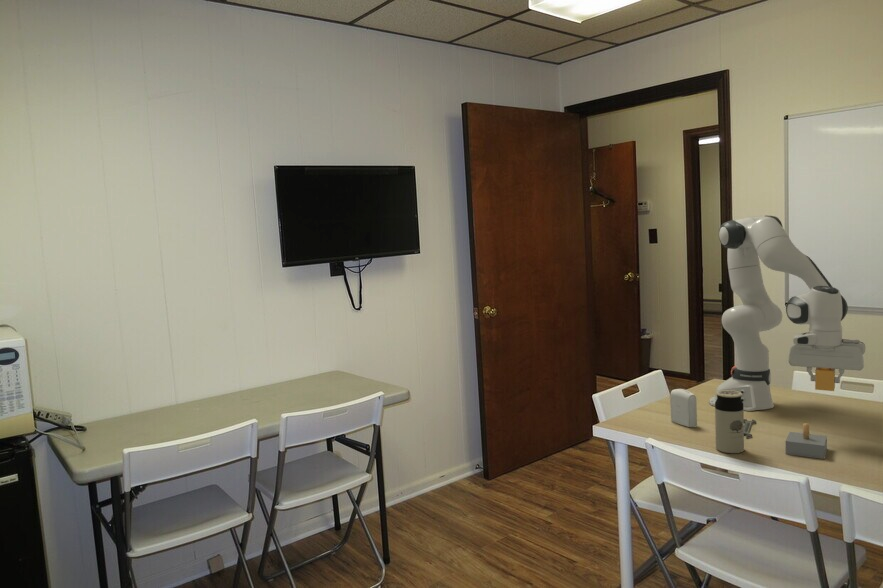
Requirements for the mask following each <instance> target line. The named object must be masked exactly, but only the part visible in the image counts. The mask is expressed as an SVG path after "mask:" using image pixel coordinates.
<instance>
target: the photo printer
mask: <svg viewBox="0 0 883 588" xmlns="http://www.w3.org/2000/svg"><path fill="white" fill-rule="evenodd" d="M669 398H670V400H669V401H670V403H669V404H670V421H671V422H673V423H675V424H679V425H681V426H684V427H688V428H695V427H696V426H698V411H697V410H698V409H697V396H696V395H695V394H694V393H693V392H691V391H690V390H687V389H685V388H676V389H675V388H674V389H672V390H671V392H670V394H669Z"/></svg>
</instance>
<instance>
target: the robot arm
mask: <svg viewBox="0 0 883 588" xmlns="http://www.w3.org/2000/svg"><path fill="white" fill-rule="evenodd" d="M718 240H719V242H720V244H721V246H722V247H724V248H725V249H727V250H726V251H727V253H726V254H727V255H726V257H727V259H726V260H727V269H728V277H729V281H730V282H729V283H730V288H731V289H730V290H732V292H733V293H735V294H736V295H737V296H738V297H739V298H740V300H741V302H742V304H741V305H735V306H733V307H730V308H728V309H726V310H725V311H724V312H723V314H722V316H721V325H722V327H723V329H724V330H725V331H726V332H727V333H728V334H729V335H730V337H731V338H732V340H733V342H734V347H735V355H736V356H735V357H736V366H733V367H731V370H730V376H731V377H729V378H728V379H726V380H725V381H723V382H722V383H720V384H719V385H718V386H717V388H716V391H715V394H714V396H712V397H710V398H709V401H708V404H709V405H710V406H713V407H715V402H716V400H717V395H716V392H717V391H720V390H733V391H738V392H741V393H742V396H741V401H742V402H743V411H745V412H746V411H747V412H754V411H759V410H762V411H763V410H769V409H773V408H774V407H775V403H774V402H773V397H772V394H771V393H772V392H771V380H772V379H771V378H772V377H771V376H772V375H771V369H770V368H769V367H770V364H769V363H770V362H769V360H770V357H769V356H770V354H769V353H770V351H769V349H768V347H767V346H766V345H765V344H763V342H762V339H761V337H760V332H764V331H765V332H766V331H770V330H772V329H774V328H777V326H779V325H780V324H781V322H782V321H783V320H782V319H783V312H782V309H781V308H780V307H779V306H778V305H777V304H776V303H774V302H773V301H772V299H771V298H770V295H769V294H768V292H767V290H766V288H765V284H764V280H763V274H762V270H761V263H762V264H763V265H764V266H765V267H767V268H768V269H770V270H773V271H776V272H782V273H785V274H789V275H793V276H795V277H798V278H800V279H801V280H802V281H803V282H804V283H805V285H806V286H807V288H809V291H807V292H805V293H802V294H797V295H794V296H791V297H790V298H789V299H788V301H787V302H786V306H785V313H786V315H787V318H788V319H789V321H790V322H792V323H793V324H795V325H809V328H808V329H809V331H807V332H802V333H798V334H796V335H794V336H793V339H792V342H793V344H792V345H791V347H790V349H789V354H788V364H789V366H791V367H804V368H806V372H807V373H808V375H809V376H810V382H815V374H814V373H813V372H812V370H813V368H815V369H816V368H829V369H835V370H838V376H836V375H835V377H834V380H835V381H834V383H835V384H840V383H841V378H842V377H843V376H844V373H845V370H847V371H862V370H863V369H864V367H865V364H864V363H865V362H864V354H865V353H866V343H864V342H863V341H860V340H859V339H849V338H848V339H847V338H843V327H842V321H843V320H844V319H845V317H846V316H847V314H848V310H849V307H848V303H847V300H846V299H845V297H843V295H842V294H841V291H840V290H839V289H838V288H836V287H834V286H833V285H832V284H831V283H830V281H829V280H828V279H827V277H826V276H825V275H824V274H823V272H822V271H821V269H820V268H819V267H818V266H817V264H816V263H815V261H814V260H812V259H811V257H809V256H807V254H804V253H803V252H802V251H800V249H799V248H797V247H796V245H795V244H794V243H793V242H792V240H791V238H790V236H789V235H788V233H787V231H786V230H785V229H784V227H783V223H782V221H781V220H780V219H779V217H777V216H776V215H764V216H763V215H762V216H761V215H760V216H748V217H744V218H738V219H735V220H734V219H731V220H729V221H726V222H723V223H722V224H721V225H720V227H719V229H718ZM760 261H761V262H760Z"/></svg>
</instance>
